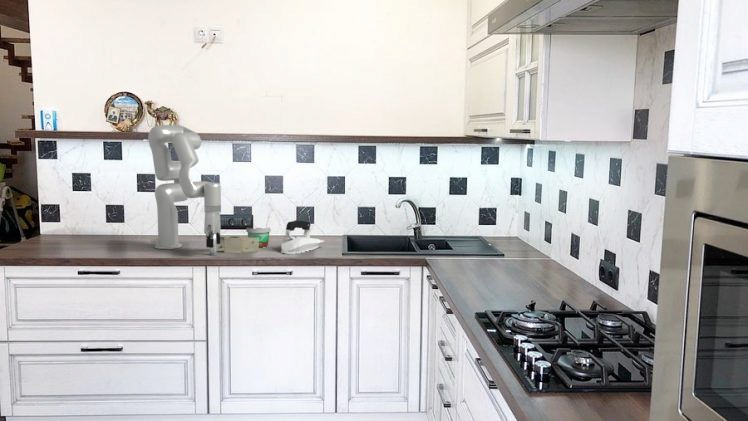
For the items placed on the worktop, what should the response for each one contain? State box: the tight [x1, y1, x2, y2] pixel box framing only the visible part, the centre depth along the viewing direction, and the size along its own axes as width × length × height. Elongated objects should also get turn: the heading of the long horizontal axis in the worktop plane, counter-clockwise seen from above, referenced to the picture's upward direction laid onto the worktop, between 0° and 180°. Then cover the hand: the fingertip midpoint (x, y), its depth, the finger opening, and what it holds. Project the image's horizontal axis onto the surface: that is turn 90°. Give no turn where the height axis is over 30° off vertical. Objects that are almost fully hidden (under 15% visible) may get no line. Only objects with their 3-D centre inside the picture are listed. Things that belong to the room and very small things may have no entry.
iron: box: [280, 219, 325, 255], centre depth 319 cm, size 11×24×15 cm, turn 146°
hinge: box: [217, 235, 260, 254], centre depth 313 cm, size 24×8×7 cm, turn 85°
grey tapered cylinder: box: [209, 234, 218, 257], centre depth 304 cm, size 4×4×13 cm
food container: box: [245, 226, 272, 249], centre depth 324 cm, size 12×6×10 cm, turn 105°
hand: (213, 245), depth 304 cm, fingers open, 9 cm apart
